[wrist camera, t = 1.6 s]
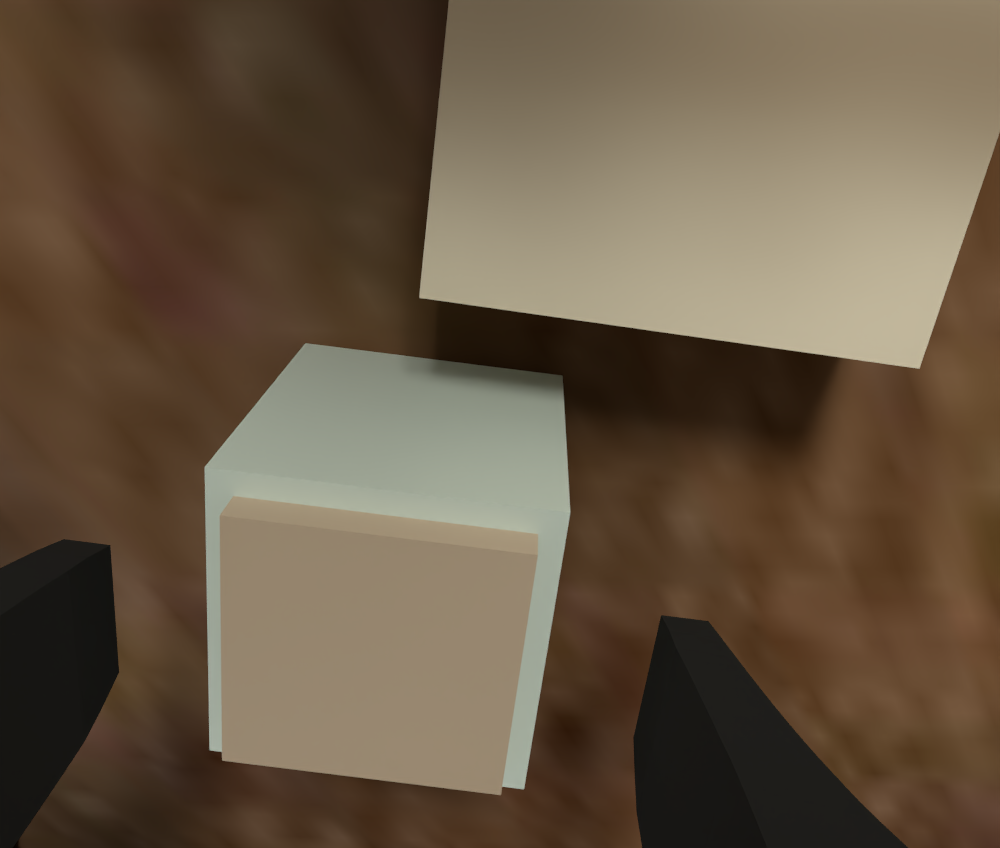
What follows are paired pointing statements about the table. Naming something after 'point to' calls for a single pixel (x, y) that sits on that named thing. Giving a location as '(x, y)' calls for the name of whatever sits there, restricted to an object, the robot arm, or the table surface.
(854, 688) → the table surface
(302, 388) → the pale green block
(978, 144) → the base block
